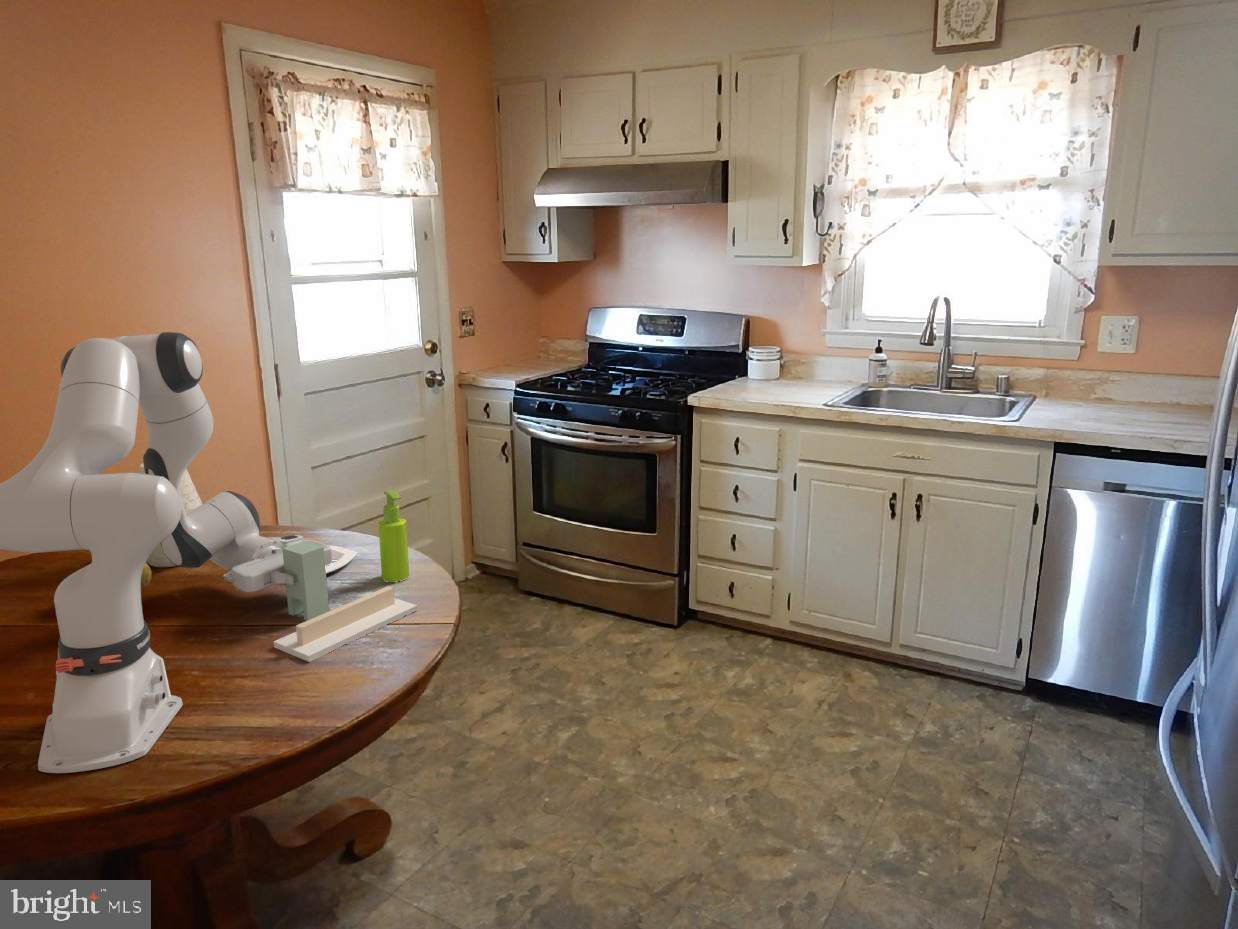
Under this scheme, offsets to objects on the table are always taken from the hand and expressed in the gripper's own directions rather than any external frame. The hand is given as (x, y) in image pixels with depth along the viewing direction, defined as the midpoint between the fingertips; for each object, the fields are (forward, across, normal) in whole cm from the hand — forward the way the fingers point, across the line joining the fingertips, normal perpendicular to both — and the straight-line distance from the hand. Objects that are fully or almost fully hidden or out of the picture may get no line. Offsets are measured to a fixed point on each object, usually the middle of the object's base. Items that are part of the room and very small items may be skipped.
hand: (308, 574), depth 168 cm
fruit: (-38, -18, +9) cm, 43 cm away
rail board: (+11, 0, +8) cm, 14 cm away
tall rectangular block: (-1, 0, +8) cm, 9 cm away
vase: (-52, +2, +9) cm, 52 cm away
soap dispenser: (0, +22, +9) cm, 24 cm away
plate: (-22, +16, +9) cm, 29 cm away
